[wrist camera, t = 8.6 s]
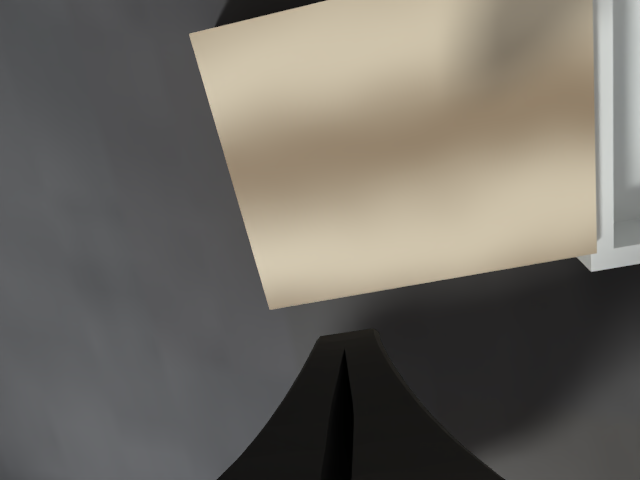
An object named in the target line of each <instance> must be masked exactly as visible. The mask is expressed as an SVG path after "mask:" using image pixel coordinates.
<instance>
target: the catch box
mask: <svg viewBox="0 0 640 480" xmlns="http://www.w3.org/2000/svg"><path fill="white" fill-rule="evenodd" d="M593 51H594V110H595V169H596V227H597V253H595V254H590V255H584V256H578V257H577V258H578V259H579V260H580V261H581V262H582V263H583V264H584V265H585V266H586V267H587V268H588V269H589V270H590V271H591V272H593V271H599V270H605V269H611V268H617V267H623V266H629V265H635V264H640V0H593Z"/></svg>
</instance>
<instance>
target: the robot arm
mask: <svg viewBox="0 0 640 480" xmlns="http://www.w3.org/2000/svg"><path fill="white" fill-rule="evenodd" d="M217 480H505V479H504V478H502V477H501V476H499V475H498V474H497V473H496V472H494V471H493V470H492V469H491V468H489V467H488V466H487V465H486V464H484V463H483V462H482V461H481V460H479V459H478V458H477V457H476V456H475V455H473V454H472V453H471V452H470V451H468V450H467V449H466V448H465V447H464V446H463V445H461V444H460V443H459V442H458V441H457V440H456V439H455V438H454V437H453V436H452V435H451V434H450V433H449V432H448V431H447V430H446V429H445V428H444V427H443V426H442V425H441V424H440V423H439V422H438V421H437V420H436V419H435V418H434V417H433V416H432V415H431V414H430V413H429V411H428V410H427V409H426V408H425V407H424V406H423V404H422V403H421V402H420V401H419V400H418V398H417V397H416V396H415V395H414V393H413V392H412V391H411V390H410V388H409V387H408V386H407V384H406V383H405V381H404V380H403V378H402V377H401V375H400V374H399V373H398V371H397V370H396V368H395V367H394V365H393V363H392V362H391V360H390V358H389V356H388V355H387V353H386V351H385V349H384V347H383V344H382V342H381V339H380V336H379V332H378V331H376V330H375V329H373V328H372V329H366V330H359V331H353V332H347V333H339V334H333V335H326V336H320V337H319V339H318V340H317V341H316V343H315V345H314V347H313V349H312V351H311V353H310V355H309V357H308V359H307V361H306V363H305V364H304V366H303V368H302V370H301V372H300V373H299V375H298V377H297V378H296V380H295V382H294V383H293V385H292V387H291V388H290V390H289V392H288V393H287V395H286V396H285V398H284V399H283V401H282V402H281V404H280V405H279V407H278V408H277V410H276V411H275V412H274V414H273V415H272V417H271V418H270V420H269V421H268V422H267V424H266V425H265V426H264V428H263V429H262V430H261V432H260V433H259V434H258V436H257V437H256V438H255V439H254V440H253V442H252V443H251V444H250V445H249V446H248V448H247V449H246V450H245V451H244V452H243V453H242V455H241V456H240V457H239V458H238V459H237V460H236V461H235V462H234V463H233V464H232V465H231V466H230V467H229V468H228V469H227V470H226V471H225V472H224V473H223V474H222V475H221V476H220V477H219V478H218V479H217Z"/></svg>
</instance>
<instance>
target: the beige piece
mask: <svg viewBox="0 0 640 480" xmlns="http://www.w3.org/2000/svg"><path fill="white" fill-rule="evenodd" d="M189 35H190V39H191V42H192V46H193V49H194V53H195V56H196V59H197V63H198V66H199V70H200V73H201V76H202V80H203V83H204V87H205V90H206V94H207V97H208V100H209V104H210V107H211V111H212V114H213V117H214V121H215V124H216V128H217V131H218V135H219V138H220V141H221V145H222V148H223V152H224V155H225V159H226V162H227V165H228V169H229V172H230V176H231V179H232V182H233V186H234V189H235V193H236V196H237V200H238V203H239V206H240V210H241V213H242V217H243V220H244V223H245V227H246V230H247V234H248V237H249V241H250V244H251V247H252V251H253V254H254V258H255V261H256V264H257V268H258V271H259V275H260V278H261V282H262V285H263V288H264V292H265V295H266V299H267V302H268V305H269V309H270V310H271V309H277V308H283V307H289V306H294V305H300V304H306V303H312V302H318V301H323V300H329V299H335V298H341V297H346V296H352V295H358V294H364V293H370V292H375V291H381V290H387V289H393V288H399V287H404V286H410V285H416V284H422V283H428V282H433V281H439V280H445V279H451V278H457V277H462V276H468V275H474V274H480V273H485V272H491V271H497V270H503V269H509V268H514V267H520V266H526V265H532V264H538V263H543V262H549V261H555V260H561V259H567V258H572V257H578V256H584V255H590V254H595V253H597V227H596V169H595V110H594V51H593V0H326V1H322V2H318V3H314V4H310V5H306V6H302V7H298V8H294V9H289V10H285V11H281V12H277V13H273V14H269V15H265V16H261V17H256V18H252V19H248V20H244V21H240V22H236V23H232V24H228V25H223V26H219V27H215V28H211V29H207V30H203V31H199V32H195V33H190V34H189Z"/></svg>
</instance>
